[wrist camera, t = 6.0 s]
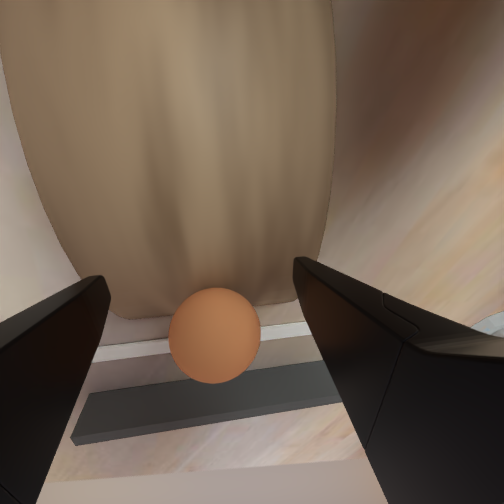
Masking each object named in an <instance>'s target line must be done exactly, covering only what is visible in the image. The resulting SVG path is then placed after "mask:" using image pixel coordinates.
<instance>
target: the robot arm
mask: <svg viewBox="0 0 504 504" xmlns="http://www.w3.org/2000/svg"><path fill="white" fill-rule="evenodd" d="M292 278H293V283H294V287H295V290H296V293H297V296H298V300H299V303H300V306H301V309H302V312H303V315H304V318H305V320H306V322H307V325H308V327H309V329H310V331H311V333H312V336H313V338H314V340H315V342H316V344H317V347H318V349H319V351H320V353H321V355H322V358H323V360H324V362H325V364H326V366H327V369H328V371H329V373H330V375H331V378H332V380H333V382H334V384H335V386H336V389H337V391H338V393H339V395H340V397H341V400H342V402H343V404H344V406H345V408H346V411H347V413H348V415H349V417H350V419H351V422H352V424H353V426H354V428H355V431H356V433H357V435H358V437H359V439H360V442H361V444H362V446H363V448H364V449H365V453H366V455H367V457H368V460H369V462H370V464H371V466H372V468H373V470H374V473H375V475H376V477H377V480H378V482H379V484H380V486H381V488H382V491H383V493H384V495H385V497H386V499H387V502H388V504H504V338H503V337H497V336H493V335H490V334H486V333H483V332H480V331H478V330H475V329H472V328H470V327H467V326H465V325H462V324H460V323H457V322H454V321H452V320H449V319H447V318H444V317H442V316H439V315H437V314H434V313H431V312H429V311H426V310H424V309H421V308H419V307H416V306H414V305H411V304H409V303H407V302H405V301H402V300H400V299H398V298H395V297H393V296H391V295H389V294H387V293H383V292H382V291H380V290H378V289H376V288H374V287H371V286H369V285H367V284H365V283H363V282H360V281H358V280H356V279H354V278H352V277H349V276H347V275H345V274H343V273H341V272H339V271H336V270H334V269H332V268H330V267H328V266H325V265H323V264H321V263H319V262H317V261H315V260H312V259H310V258H308V257H306V256H301V257H295V258H294V260H293V275H292ZM110 303H111V294H110V291H109V288H108V285H107V282H106V280H105V278H104V276H102V275H93V276H88V277H86V278H84V279H82V280H80V281H79V282H77V283H75V284H73V285H71V286H69V287H67V288H65V289H63V290H61V291H60V292H58V293H56V294H54V295H52V296H50V297H48V298H46V299H44V300H42V301H41V302H39V303H37V304H35V305H33V306H31V307H29V308H27V309H25V310H23V311H22V312H20V313H18V314H16V315H14V316H12V317H10V318H8V319H6V320H4V321H3V322H1V323H0V504H36V502H37V499H38V497H39V494H40V492H41V489H42V486H43V484H44V481H45V479H46V476H47V474H48V471H49V469H50V466H51V464H52V461H53V459H54V456H55V454H56V451H57V449H58V446H59V444H60V441H61V439H62V436H63V434H64V431H65V428H66V426H67V423H68V421H69V418H70V416H71V413H72V411H73V408H74V406H75V403H76V401H77V398H78V396H79V393H80V391H81V388H82V386H83V383H84V381H85V378H86V376H87V373H88V370H89V368H90V365H91V363H92V360H93V358H94V355H95V353H96V350H97V348H98V345H99V342H100V340H101V336H102V333H103V329H104V325H105V322H106V318H107V314H108V310H109V306H110Z"/></svg>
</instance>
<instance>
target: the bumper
mask: <svg viewBox="0 0 504 504" xmlns="http://www.w3.org/2000/svg"><path fill="white" fill-rule="evenodd" d="M340 402H342V400H341V397H340V395H339V393H338V391H337V389H336V386H335V384H334V382H333V380H332V378H331V375H330V373H329V371H328V369H327V366H326V364H325V362H324V360H323V361H316V362H309V363H302V364H295V365H288V366H281V367H274V368H267V369H260V370H253V371H246V372H243V373H241V374H240V375H239V376H237V377H235V378H233V379H231V380H229V381H226V382H222V383H216V384H210V383H203V382H200V381H196V380H194V379H190V380H183V381H176V382H169V383H162V384H155V385H148V386H141V387H134V388H127V389H119V390H112V391H105V392H98V393H91V394H89V396H88V398H87V401H86V403H85V405H84V408H83V410H82V412H81V414H80V417H79V419H78V421H77V424H76V426H75V428H74V430H73V433H72V435H71V437H70V438H71V440H72V441H73V443H74V444H75V446H78V445H85V444H91V443H97V442H103V441H109V440H115V439H121V438H127V437H133V436H139V435H145V434H151V433H158V432H164V431H170V430H176V429H182V428H188V427H194V426H200V425H206V424H212V423H218V422H224V421H230V420H237V419H243V418H249V417H255V416H261V415H267V414H273V413H279V412H285V411H291V410H297V409H303V408H310V407H316V406H322V405H328V404H334V403H340Z"/></svg>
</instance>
